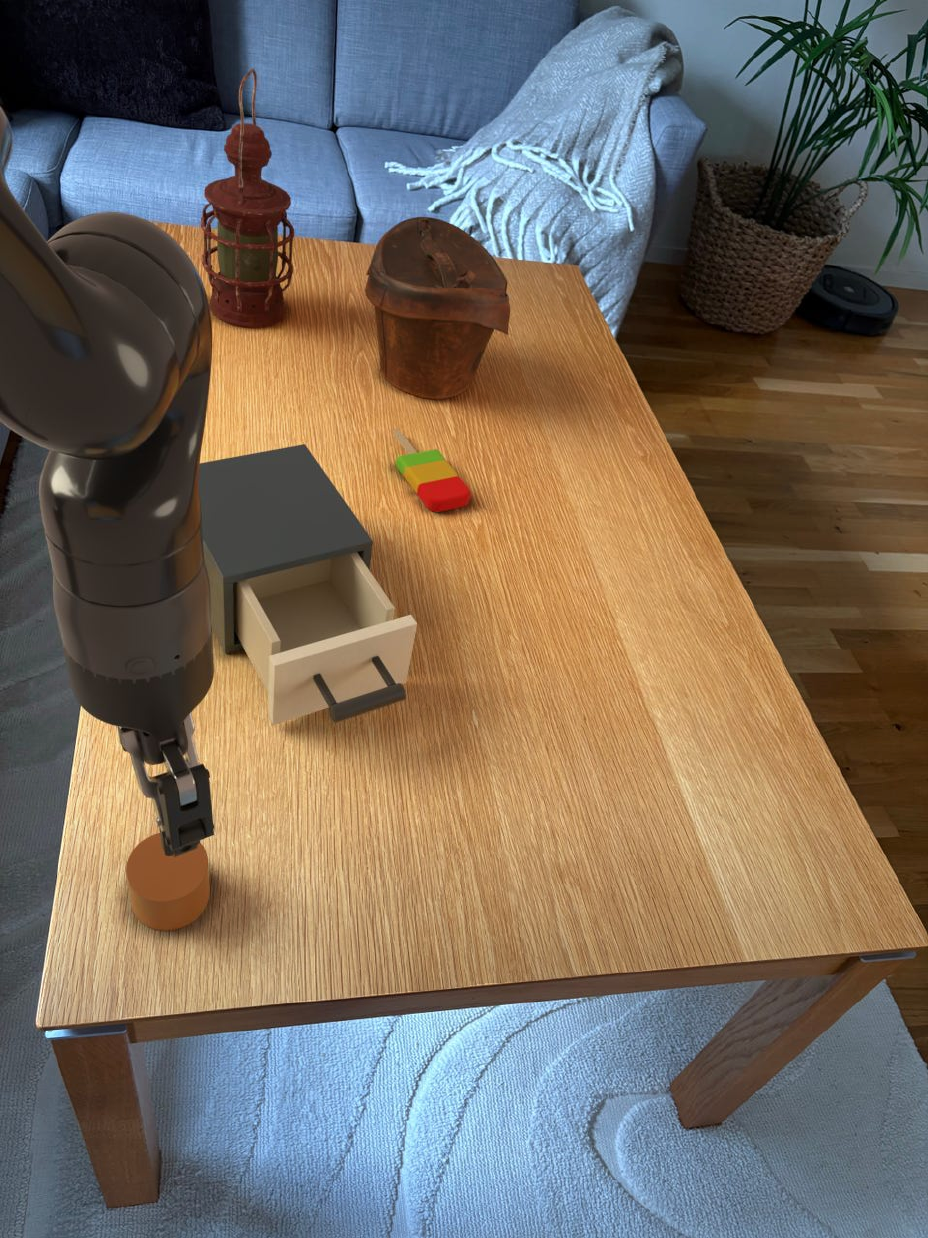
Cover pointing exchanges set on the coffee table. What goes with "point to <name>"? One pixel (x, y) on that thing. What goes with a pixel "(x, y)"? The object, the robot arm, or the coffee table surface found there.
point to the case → (434, 306)
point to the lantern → (247, 232)
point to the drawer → (324, 639)
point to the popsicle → (431, 477)
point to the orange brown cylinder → (167, 884)
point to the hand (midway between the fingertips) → (159, 793)
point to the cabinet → (269, 523)
